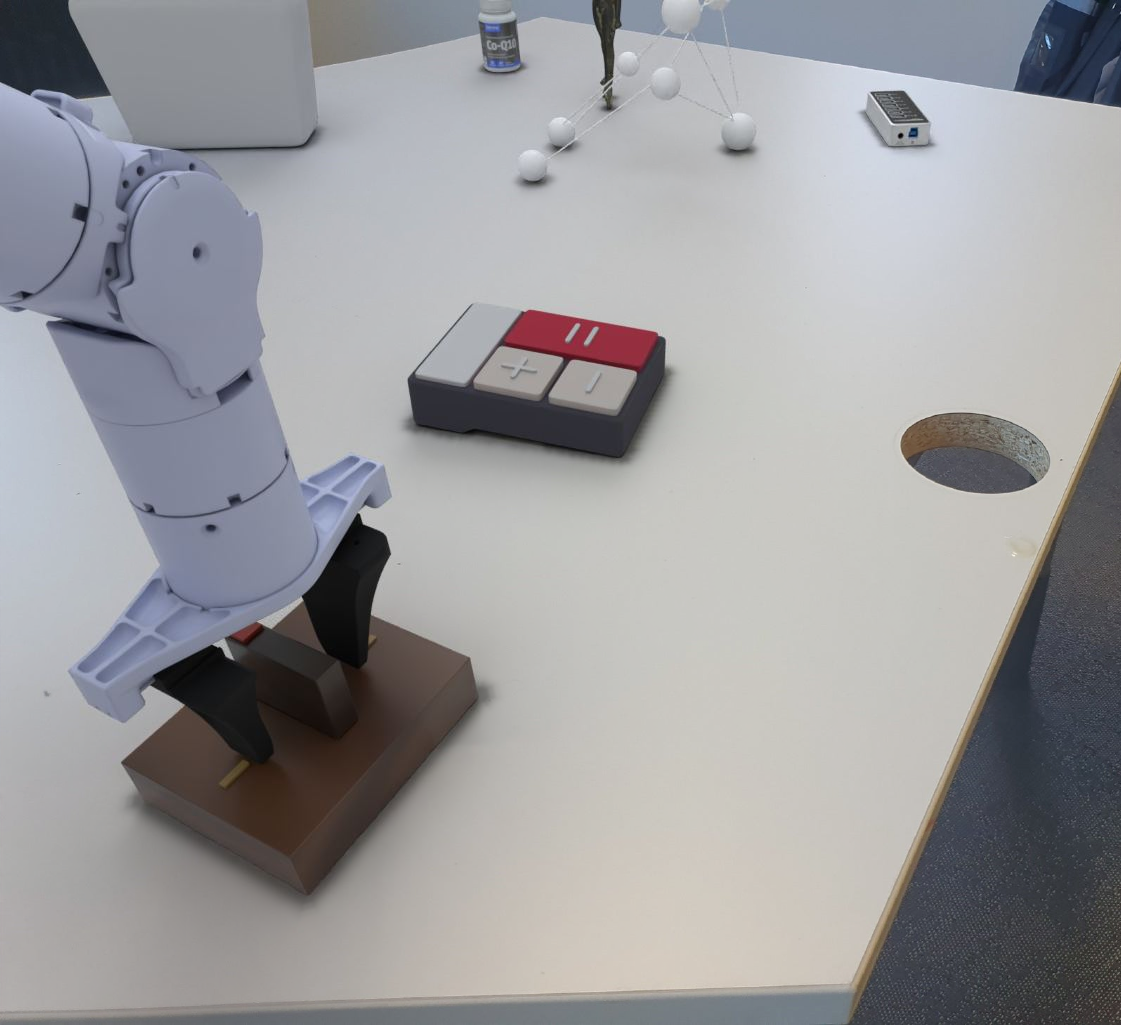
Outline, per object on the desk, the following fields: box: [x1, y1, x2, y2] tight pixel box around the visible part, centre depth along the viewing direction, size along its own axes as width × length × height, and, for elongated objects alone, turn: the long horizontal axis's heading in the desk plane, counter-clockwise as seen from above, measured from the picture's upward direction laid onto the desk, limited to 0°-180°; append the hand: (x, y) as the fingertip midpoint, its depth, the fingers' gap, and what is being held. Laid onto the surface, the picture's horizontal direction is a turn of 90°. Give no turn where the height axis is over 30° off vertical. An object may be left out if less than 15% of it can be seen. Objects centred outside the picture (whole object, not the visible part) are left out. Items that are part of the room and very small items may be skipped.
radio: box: [68, 0, 319, 150], centre depth 101 cm, size 22×8×25 cm, turn 93°
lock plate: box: [120, 600, 479, 896], centre depth 47 cm, size 12×10×3 cm
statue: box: [591, 0, 623, 109], centre depth 111 cm, size 5×6×20 cm
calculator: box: [406, 301, 667, 458], centre depth 69 cm, size 11×4×15 cm
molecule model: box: [516, 0, 757, 182], centre depth 99 cm, size 14×25×18 cm, turn 97°
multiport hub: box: [865, 89, 932, 147], centre depth 110 cm, size 4×11×2 cm, turn 5°
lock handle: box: [223, 621, 358, 739], centre depth 44 cm, size 6×1×4 cm, turn 62°
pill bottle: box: [477, 0, 522, 73], centre depth 125 cm, size 5×5×8 cm
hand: (301, 701), depth 46 cm, fingers open, 5 cm apart
